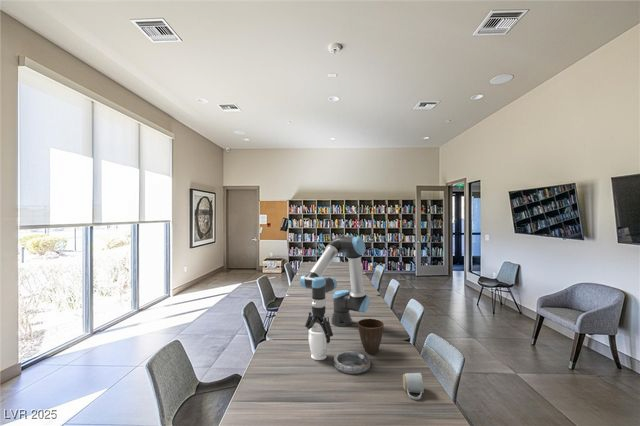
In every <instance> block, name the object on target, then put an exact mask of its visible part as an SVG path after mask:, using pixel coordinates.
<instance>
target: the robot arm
mask: <svg viewBox="0 0 640 426" xmlns="http://www.w3.org/2000/svg"><path fill="white" fill-rule="evenodd" d="M324 248H325V249H324V252H323V253H322V254H321V256H320V257H319V258H318V260H317V261H316V262H315V264H314V265H313V267H311V269H310V271H309V272H308V274H305V275H304V274H303V275H301V277H300V279H299V286H300V287H301V288H304V289H307V290H311V311H310V312H308V317H307V319H306V322H305V325H304V327H305V328H306V329H307V336H308V337H307V338H308V339H307V341H308V342H309V336H310V332H309V330H310V328H313V327H314V325H315V324H316V323H317V324H318V325H319V327H322V329H323V331H324V333H325V335H326V337H325V349H327V350H328V349H330V343H331V337H333V336H334V335H333V331H332V326H331V324H332V325H333V326H336V327H349V326H350V325H352V323H353V319H352V316H351V313H350V311H352V312H356V313H357V312H358V313H365V314H366V312H367V311H368V310H369V307H370V302H371V297H370V296H368V295H367V292H366V290H365V289H364V281H363V280H364V279H363V269H362V267H363V266H362V257H363V256H364V254H365V252H366V244H365V241H364V239H363V238H362V237H360V236H337V237H335V238H334V239H332V240H331V241H329V243H328V244H327V245H326V247H324ZM339 254H345V257H346V259H348V260H347V261H348V269H349V270H348V271H349V279H350V281H349V282H350V289H351V291H350V290H348V289H341V290H336V291H334V290H335V289H336V288H337V286H338V281H337V280H336V278H334V277H332V276H331V277H330V276H329V277H322V276H323V275H324V273H325V271H326V270H327V269H328V267H329V265H330V264H331V263H332V261H333V259H334V258H335V257H337V256H338V255H339ZM332 291H334V292H333V296H332V297H333V299H332V300H333V304H332V305H333V311H332V316H331V319H330V317H329V316H325V314H326V305H327V303H326V293H329V292H332ZM327 334H328V335H327Z"/></svg>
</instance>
